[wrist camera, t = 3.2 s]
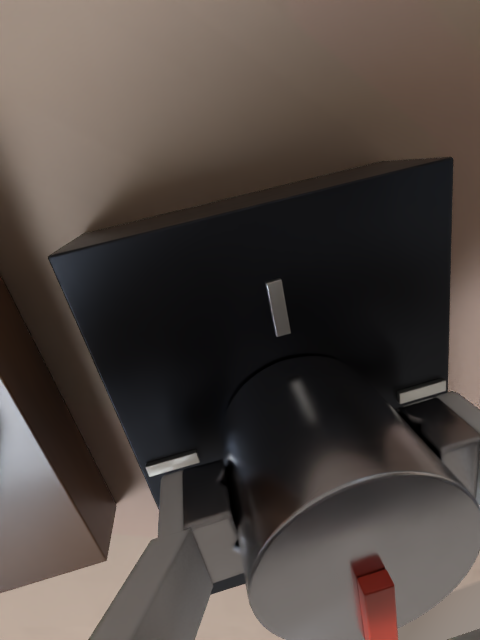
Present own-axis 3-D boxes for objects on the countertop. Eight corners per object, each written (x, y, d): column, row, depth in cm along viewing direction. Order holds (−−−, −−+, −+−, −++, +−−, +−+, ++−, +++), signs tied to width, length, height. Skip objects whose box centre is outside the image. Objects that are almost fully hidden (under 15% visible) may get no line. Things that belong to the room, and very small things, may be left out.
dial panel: (81, 233, 10) (43, 258, 7) (383, 161, 11) (459, 156, 8) (193, 521, 15) (197, 604, 12) (397, 459, 15) (448, 525, 13)
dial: (202, 381, 9) (223, 543, 5) (369, 335, 9) (511, 454, 5) (240, 503, 11) (276, 693, 7) (378, 461, 11) (491, 620, 7)
